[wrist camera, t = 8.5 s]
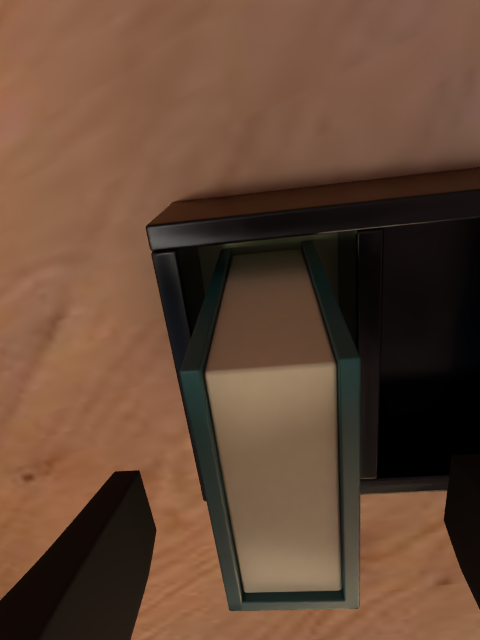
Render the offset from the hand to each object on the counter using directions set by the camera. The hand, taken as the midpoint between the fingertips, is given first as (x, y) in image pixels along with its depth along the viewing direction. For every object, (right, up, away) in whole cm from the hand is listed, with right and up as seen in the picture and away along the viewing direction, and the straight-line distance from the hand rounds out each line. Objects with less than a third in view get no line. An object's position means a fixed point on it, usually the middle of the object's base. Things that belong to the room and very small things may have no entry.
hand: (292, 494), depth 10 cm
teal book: (0, +4, +7) cm, 8 cm away
